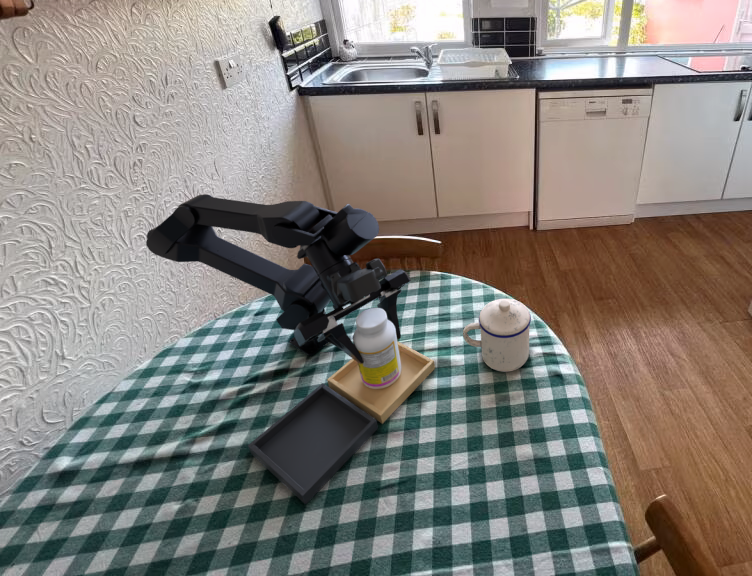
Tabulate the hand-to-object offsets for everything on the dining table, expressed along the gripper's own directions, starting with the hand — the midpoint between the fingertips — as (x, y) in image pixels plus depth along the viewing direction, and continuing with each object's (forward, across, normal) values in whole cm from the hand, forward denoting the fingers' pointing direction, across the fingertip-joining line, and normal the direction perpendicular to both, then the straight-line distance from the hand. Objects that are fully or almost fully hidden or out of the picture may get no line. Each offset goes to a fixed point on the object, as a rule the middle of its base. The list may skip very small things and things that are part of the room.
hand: (381, 350), depth 67 cm
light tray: (+4, 0, +6) cm, 7 cm away
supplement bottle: (+4, 0, +6) cm, 7 cm away
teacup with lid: (+12, +17, -2) cm, 21 cm away
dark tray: (+6, -13, +4) cm, 15 cm away
